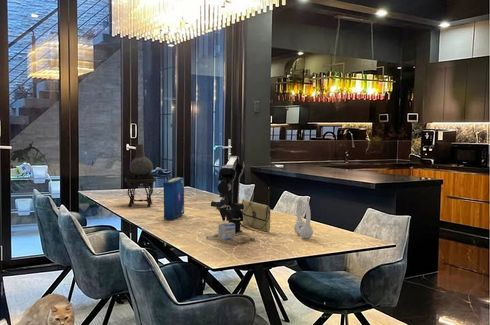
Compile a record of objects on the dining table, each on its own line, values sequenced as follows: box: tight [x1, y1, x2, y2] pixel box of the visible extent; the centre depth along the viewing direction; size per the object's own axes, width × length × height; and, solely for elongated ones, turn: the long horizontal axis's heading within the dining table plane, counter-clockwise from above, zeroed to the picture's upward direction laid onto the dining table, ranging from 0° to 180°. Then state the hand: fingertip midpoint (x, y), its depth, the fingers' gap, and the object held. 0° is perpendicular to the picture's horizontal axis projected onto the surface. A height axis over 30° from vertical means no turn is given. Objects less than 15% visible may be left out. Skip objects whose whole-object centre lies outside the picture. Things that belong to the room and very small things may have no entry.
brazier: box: [124, 143, 157, 208], centre depth 349 cm, size 22×22×45 cm
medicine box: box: [218, 222, 236, 241], centre depth 242 cm, size 8×4×9 cm, turn 137°
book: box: [162, 176, 185, 221], centre depth 303 cm, size 22×7×25 cm, turn 168°
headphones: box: [293, 198, 314, 240], centre depth 252 cm, size 7×18×20 cm, turn 9°
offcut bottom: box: [231, 240, 250, 245], centre depth 236 cm, size 7×5×2 cm
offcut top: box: [232, 234, 251, 243], centre depth 236 cm, size 7×5×2 cm
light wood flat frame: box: [205, 232, 256, 247], centre depth 241 cm, size 14×21×2 cm, turn 47°
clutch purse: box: [240, 199, 271, 233], centre depth 272 cm, size 30×7×15 cm, turn 32°
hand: (226, 221), depth 242 cm, fingers open, 4 cm apart
